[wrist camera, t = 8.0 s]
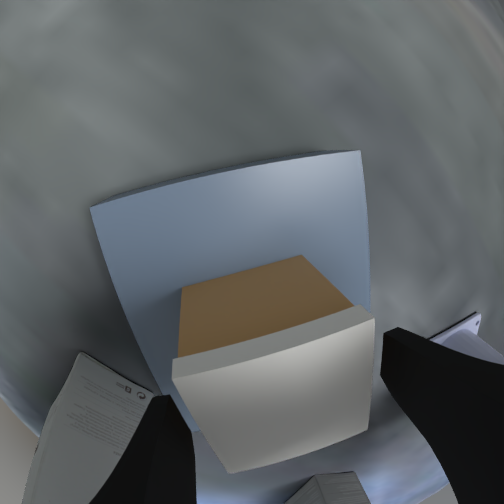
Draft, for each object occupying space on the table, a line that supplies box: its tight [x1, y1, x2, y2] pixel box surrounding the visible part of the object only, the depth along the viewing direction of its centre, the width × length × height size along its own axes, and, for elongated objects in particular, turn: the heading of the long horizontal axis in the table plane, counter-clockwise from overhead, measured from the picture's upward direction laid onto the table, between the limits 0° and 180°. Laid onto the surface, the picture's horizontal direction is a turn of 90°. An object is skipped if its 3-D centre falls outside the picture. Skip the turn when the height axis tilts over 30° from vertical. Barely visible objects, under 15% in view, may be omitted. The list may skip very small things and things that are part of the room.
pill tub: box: [172, 255, 375, 474], centre depth 10 cm, size 5×5×6 cm
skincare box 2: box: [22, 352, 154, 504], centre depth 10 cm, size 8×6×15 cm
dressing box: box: [90, 150, 370, 432], centre depth 15 cm, size 13×11×4 cm
